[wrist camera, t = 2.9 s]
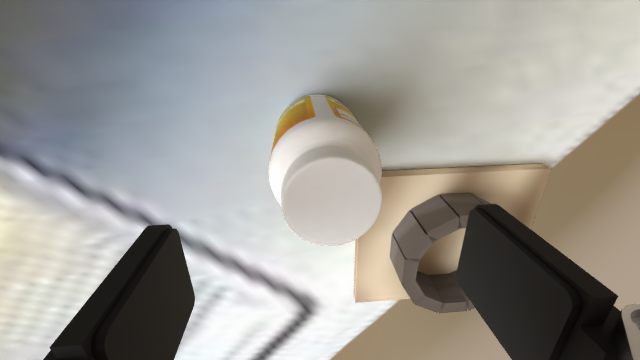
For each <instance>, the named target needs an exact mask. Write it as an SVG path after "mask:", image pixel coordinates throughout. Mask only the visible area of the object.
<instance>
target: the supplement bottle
mask: <svg viewBox="0 0 640 360" xmlns="http://www.w3.org/2000/svg"><path fill="white" fill-rule="evenodd" d="M381 174H382V167H381V160H380V156H379V153H378V151H377V148H376V146H375V144H374V142H373V141H372V139H371V138H370V136H369V135H368V134H367V132H366V131H365V130H364V129H363V127H362V126H361V125H360V124H359V122H358V121H357V120H356V118H355V117H354V116H353V114H352V113H351V112H350V110H349V109H348V108H347V107H346V106H345V105H344V104H342V103H341V102H340V101H338V100H337V99H335V98H333V97H330V96H326V95H320V94H315V95H308V96H304V97H302V98H299V99H297V100H296V101H294V102H293V103H291V104H290V105H289V106H288V107H287V108H286V109H285V110H284V112H283V113H282V115H281V117H280V119H279V122H278V125H277V128H276V133H275V138H274V143H273V147H272V152H271V157H270V162H269V181H270V185H271V188H272V191H273V194H274V195H275V197H276V199H277V201H278V202H279V204H280V205H281V211H282V214H283V217H284V220H285V222H286V224H287V225H288V227H289V228H290V229H291V230H292V232H294V233H295V234H296V235H297V236H298V237H300V238H301V239H303V240H305V241H307V242H310V243H313V244H316V245H322V246H335V245H341V244H345V243H348V242H351V241H353V240H355V239H357V238H359V237H360V236H362V235H363V234H365V233H366V232H367V231H368V230H369V229H370V228H371V227H372V226H373V224H374V223H375V222H376V220H377V218H378V216H379V214H380V211H381V207H382V190H381V186H380V181H381Z"/></svg>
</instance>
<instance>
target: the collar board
mask: <svg viewBox="0 0 640 360" xmlns="http://www.w3.org/2000/svg"><path fill="white" fill-rule="evenodd" d="M551 170H552V168H550V167H548V166H546V165H544V164H542V163H541V164H520V165H499V166H479V167H458V168H437V169H416V170H395V171H382V174H381V181H380V186H381V190H382V207H381V211H380V214H379V216H378V218H377V220H376V222H375V223H374V224H373V226H372V227H371V228H370V229H369V230H368V231H367V232H366V233H365V234H363V235H362V236H360V237H359V238H357V239H356V247H355V272H354V298H355V302H356V303H357V302H371V301H385V300H398V299H411V300H412V302H413V303H415V304H416V305H418V306H421V307H423V308H426V309H429V310H432V311H434V312H437V313H438V312H439V313H448V312H459V311H467V309H468V310H471V309H473V308H475V307H474V305H473V304H472V302H471V301H470V300H469V298H468V297H467V295H466V294H465V293H464V291H463V290H462V288H461V287H460V285H459V284H458V282H457V278H456V272H457V267H458V263H459V258H460V253H461V249H462V244H463V240H464V235H465V230H466V226H467V221H468V216H469V213H470V211H471V210H472V209H474V207H475V206H476V205H480V204H497V205H499V206H501V207H502V208H503V209H504V210H506V211H507V212H508V213H510V214H511V215H512V216H514V217H515V218H516V219H518V220H519V221H520V222H522V223H523V224H524V225H525V226H527V227H528V228H529V229H531V228H532V225H533V222H534V219H535V216H536V213H537V210H538V207H539V204H540V202H541V199H542V195H543V193H544V190H545V187H546V184H547V181H548V178H549V175H550V173H551Z"/></svg>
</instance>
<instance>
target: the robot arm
mask: <svg viewBox="0 0 640 360" xmlns="http://www.w3.org/2000/svg"><path fill="white" fill-rule="evenodd" d="M456 278H457V282H458V284H459V285H460V287H461V288H462V290H463V291H464V293H465V294H466V295H467V297H468V298H469V300H470V301H471V302H472V304H473V305H474V307H475V308H476V310H477V311H478V312H479V314H480V315H481V317H482V318H483V319H484V321H485V322H486V324H487V325H488V326H489V328H490V329H491V331H492V332H493V334H494V335H495V336H496V338H497V339H498V341H499V342H500V344H501V345H502V346H503V348H504V349H505V351H506V352H507V353H508V355H509V356H510V358H511V359H512V360H640V304H631V305H626V306H625V307H624V308H623V309H622V310H621V311H619V310H618V309H617V308H616V307H614V306H613V305H614V303H615V301H616V299H617V297H618V296H617V295H616V294H615V293H613V292H612V291H611V290H610V289H608V288H607V287H606V286H604V285H603V284H602V283H600V282H599V281H597V280H596V279H595V278H594V277H592V276H591V275H590V274H589V273H587V272H586V271H585V270H583V269H582V268H581V267H579V266H578V265H577V264H575V263H574V262H573V261H571V260H570V259H569V258H567V257H566V256H565V255H564V254H562V253H561V252H560V251H558V250H557V249H556V248H554V247H553V246H552V245H550V244H549V243H548V242H546V241H545V240H544V239H543V238H541V237H540V236H539V235H537V234H536V233H535V232H533V231H532V230H531V229H529V228H528V227H527V226H525V225H524V224H523V223H522V222H520V221H519V220H518V219H516V218H515V217H514V216H512V215H511V214H510V213H508V212H507V211H506V210H504V209H503V208H502V207H501V206H499V205H497V204H480V205H476V206H475V207H474V209H472V210H471V211H470V213H469V216H468V221H467V226H466V230H465V235H464V240H463V244H462V249H461V253H460V258H459V263H458V267H457V272H456ZM194 302H195V295H194V291H193V287H192V283H191V279H190V275H189V272H188V268H187V264H186V260H185V256H184V252H183V248H182V245H181V241H180V237H179V233H178V231H177V229H172V227H171V226H170V225H152V226H147V227H146V228H145V230H144V231H143V232H142V233H141V235H140V236H139V237H138V238H137V240H136V241H135V242H134V243H133V245H132V246H131V247H130V248H129V249H128V251H127V252H126V253H125V254H124V256H123V257H122V258H121V259H120V261H119V262H118V263H117V264H116V266H115V267H114V268H113V269H112V271H111V272H110V273H109V274H108V276H107V277H106V278H105V279H104V281H103V282H102V283H101V284H100V286H99V287H98V288H97V289H96V291H95V292H94V293H93V294H92V296H91V297H90V298H89V299H88V300H87V302H86V303H85V304H84V305H83V307H82V308H81V309H80V310H79V312H78V313H77V314H76V315H75V317H74V318H73V319H72V320H71V322H70V323H69V324H68V325H67V327H66V328H65V329H64V330H63V332H62V333H61V334H60V335H59V337H58V338H57V339H56V340H55V342H54V343H53V344H52V345H51V346H50V349H51V351H50V352H49V353H48V354H47V356H46V357H45V358H44V359H43V360H174V358H175V355H176V352H177V350H178V347H179V344H180V342H181V339H182V336H183V334H184V331H185V328H186V326H187V323H188V320H189V318H190V315H191V312H192V310H193V307H194Z"/></svg>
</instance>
